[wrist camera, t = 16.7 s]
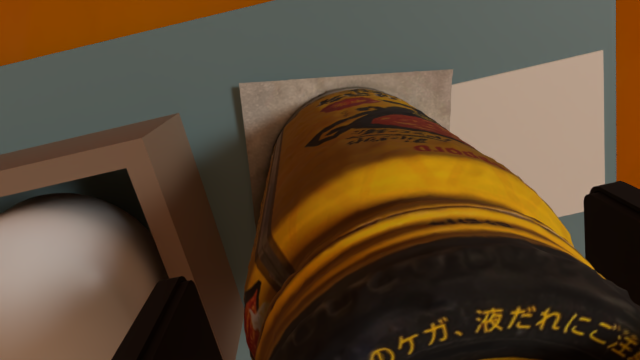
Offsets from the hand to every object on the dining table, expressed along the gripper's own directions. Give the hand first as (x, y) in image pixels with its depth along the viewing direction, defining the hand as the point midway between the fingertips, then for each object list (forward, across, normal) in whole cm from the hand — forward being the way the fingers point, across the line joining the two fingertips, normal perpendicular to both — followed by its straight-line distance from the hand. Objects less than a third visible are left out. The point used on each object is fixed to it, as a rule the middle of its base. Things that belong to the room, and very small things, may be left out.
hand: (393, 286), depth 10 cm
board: (+8, +2, 0) cm, 8 cm away
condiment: (+7, 0, 0) cm, 7 cm away
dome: (+4, +10, 0) cm, 11 cm away
